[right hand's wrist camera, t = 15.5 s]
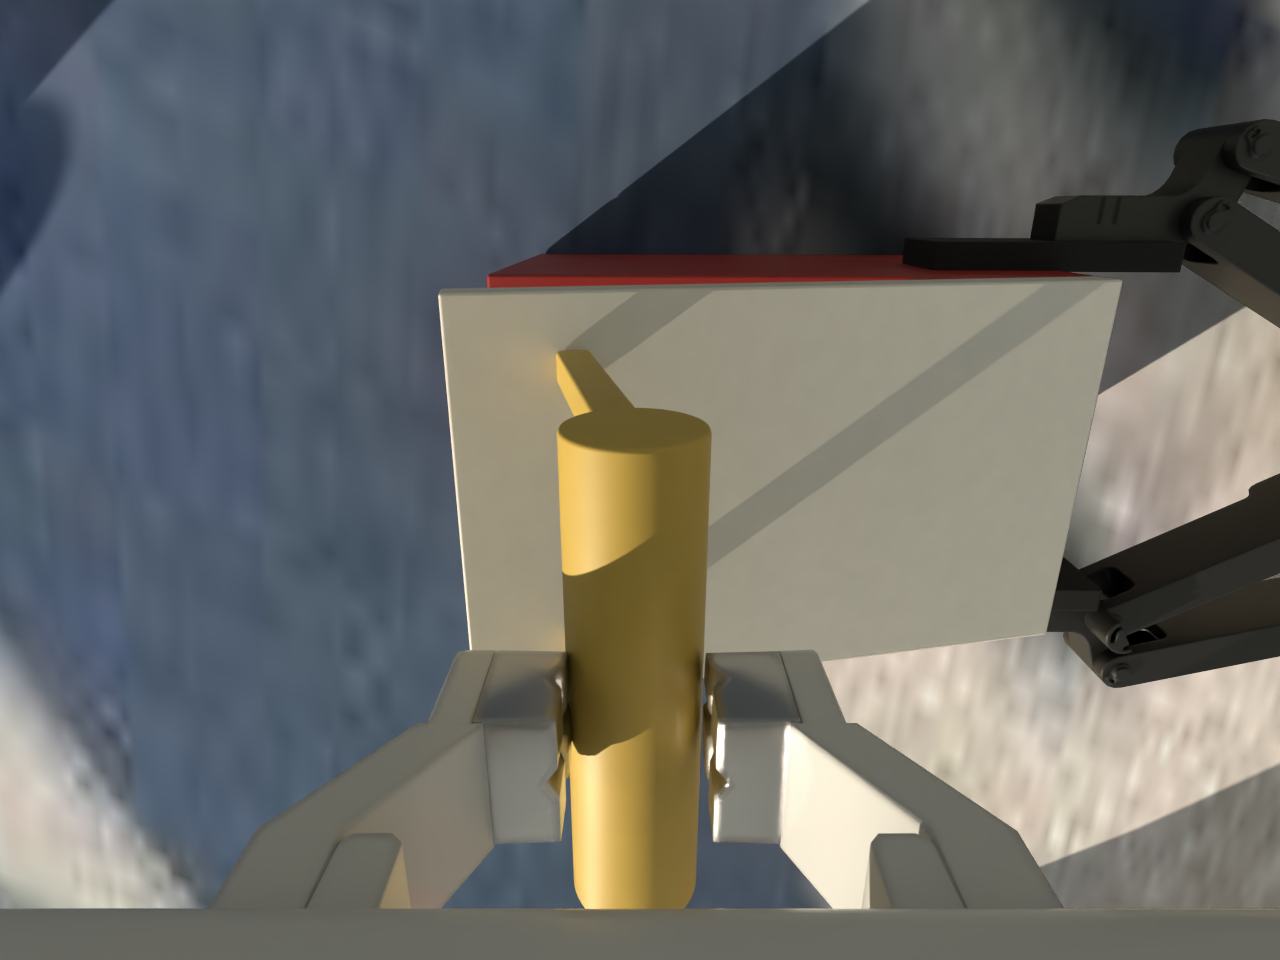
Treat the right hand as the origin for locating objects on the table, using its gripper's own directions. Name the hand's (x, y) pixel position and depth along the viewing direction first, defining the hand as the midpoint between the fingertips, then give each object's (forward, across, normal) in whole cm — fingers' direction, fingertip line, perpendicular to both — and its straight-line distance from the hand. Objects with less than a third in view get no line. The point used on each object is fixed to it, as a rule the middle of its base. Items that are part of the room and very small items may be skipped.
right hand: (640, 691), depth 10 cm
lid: (+8, +4, 0) cm, 9 cm away
